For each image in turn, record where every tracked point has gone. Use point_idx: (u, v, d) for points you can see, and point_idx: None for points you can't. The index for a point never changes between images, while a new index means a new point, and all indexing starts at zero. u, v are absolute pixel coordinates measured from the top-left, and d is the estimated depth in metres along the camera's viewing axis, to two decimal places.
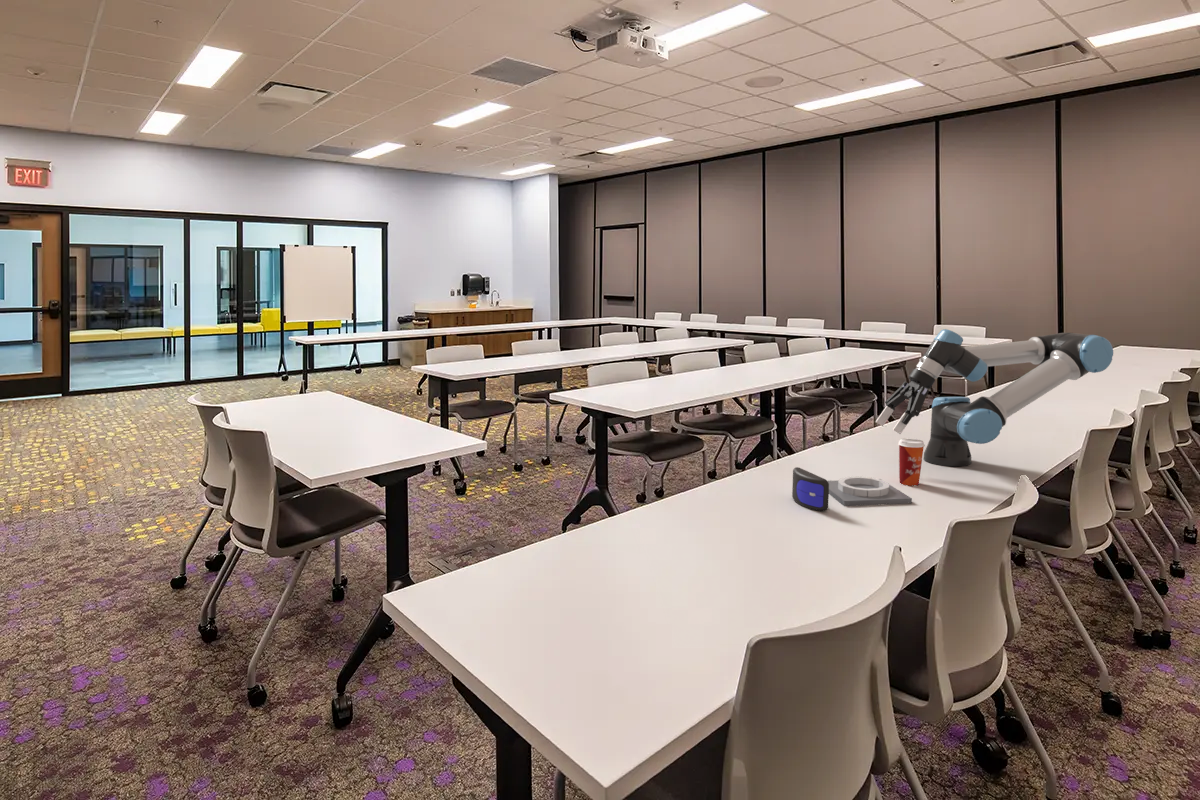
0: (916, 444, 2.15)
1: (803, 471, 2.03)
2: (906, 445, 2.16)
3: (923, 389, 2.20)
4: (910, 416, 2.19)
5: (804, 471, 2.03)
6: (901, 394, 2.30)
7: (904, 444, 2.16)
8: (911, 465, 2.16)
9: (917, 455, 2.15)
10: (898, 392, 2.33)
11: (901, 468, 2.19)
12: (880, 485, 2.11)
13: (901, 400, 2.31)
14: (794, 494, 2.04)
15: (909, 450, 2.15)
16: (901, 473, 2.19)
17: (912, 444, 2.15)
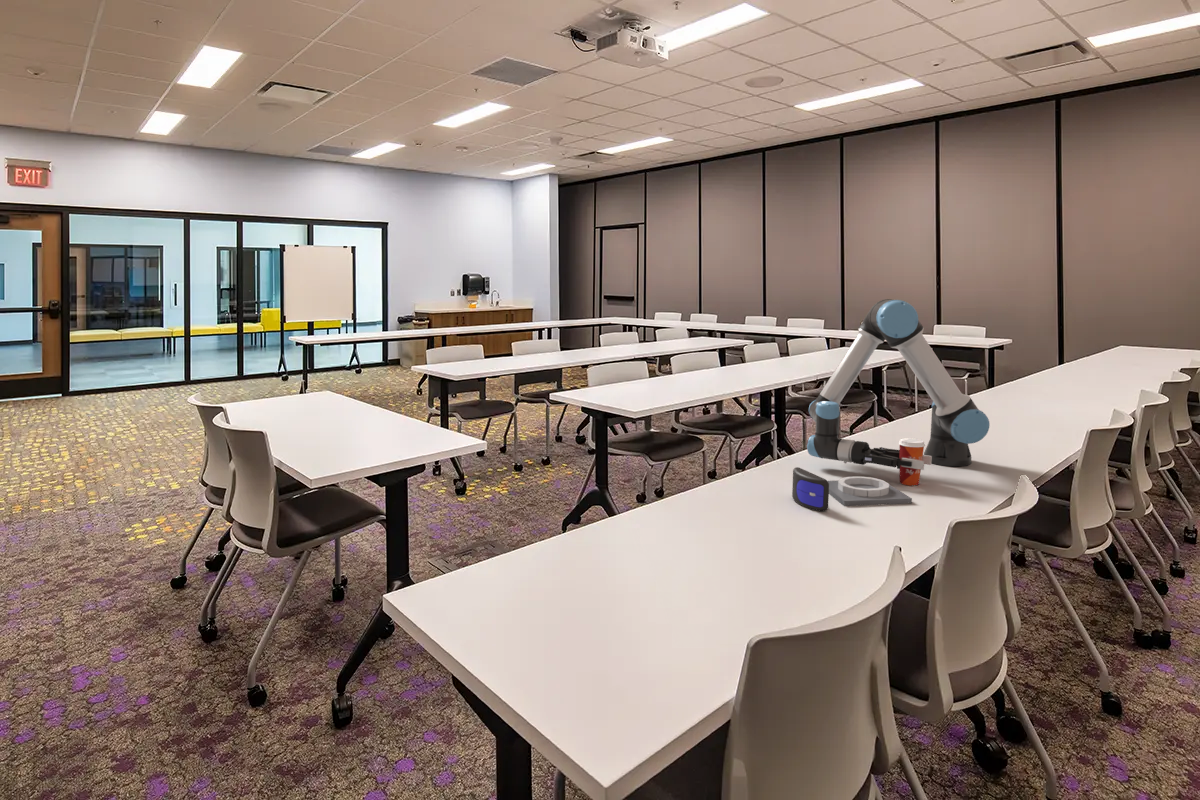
0: (916, 444, 2.15)
1: (803, 471, 2.03)
2: (906, 445, 2.16)
3: (867, 461, 2.22)
4: (900, 462, 2.16)
5: (804, 471, 2.03)
6: None
7: (904, 444, 2.16)
8: None
9: (917, 454, 2.15)
10: None
11: (901, 468, 2.19)
12: (880, 485, 2.11)
13: (892, 454, 2.25)
14: (794, 494, 2.04)
15: (909, 450, 2.16)
16: (902, 472, 2.19)
17: (912, 444, 2.15)
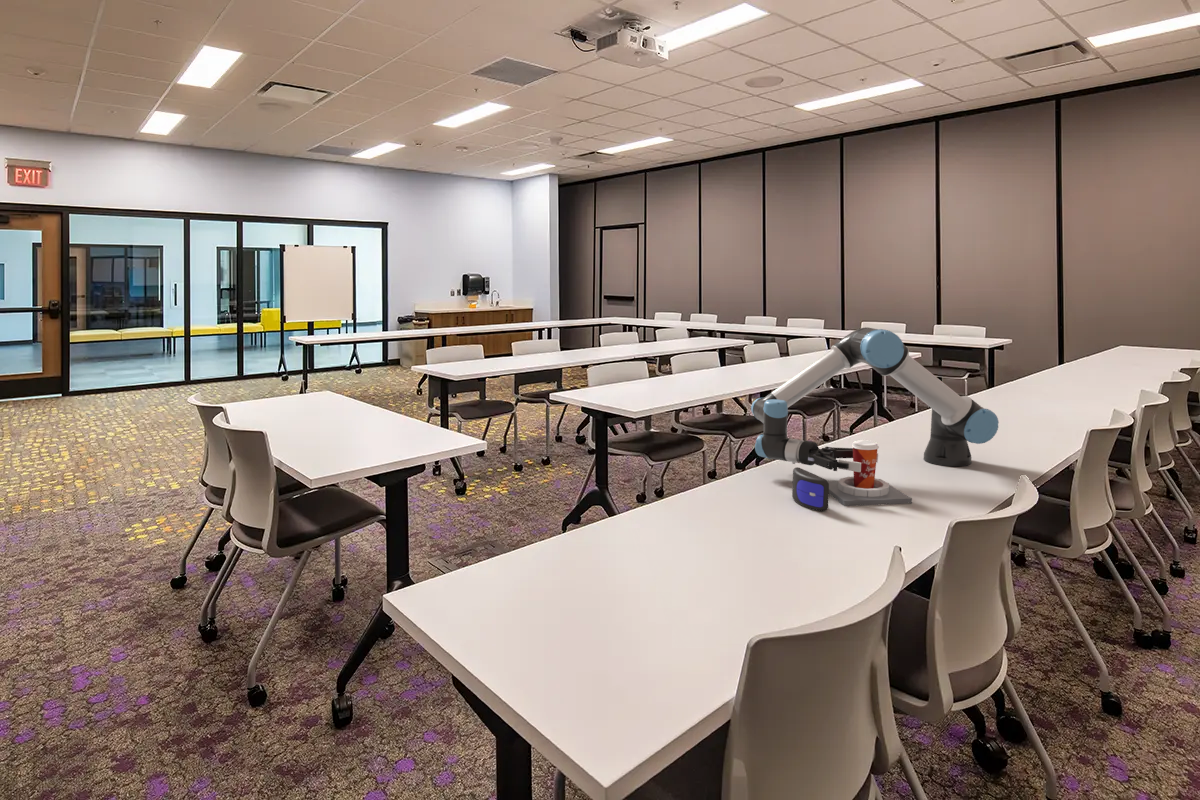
0: (869, 446, 2.07)
1: (803, 471, 2.03)
2: (859, 447, 2.08)
3: (809, 461, 2.13)
4: (837, 464, 2.06)
5: (804, 471, 2.03)
6: (834, 458, 2.18)
7: (857, 446, 2.08)
8: (865, 468, 2.08)
9: (871, 457, 2.07)
10: None
11: None
12: (880, 485, 2.11)
13: (841, 452, 2.17)
14: (794, 494, 2.04)
15: (862, 453, 2.08)
16: (856, 476, 2.11)
17: (865, 446, 2.07)
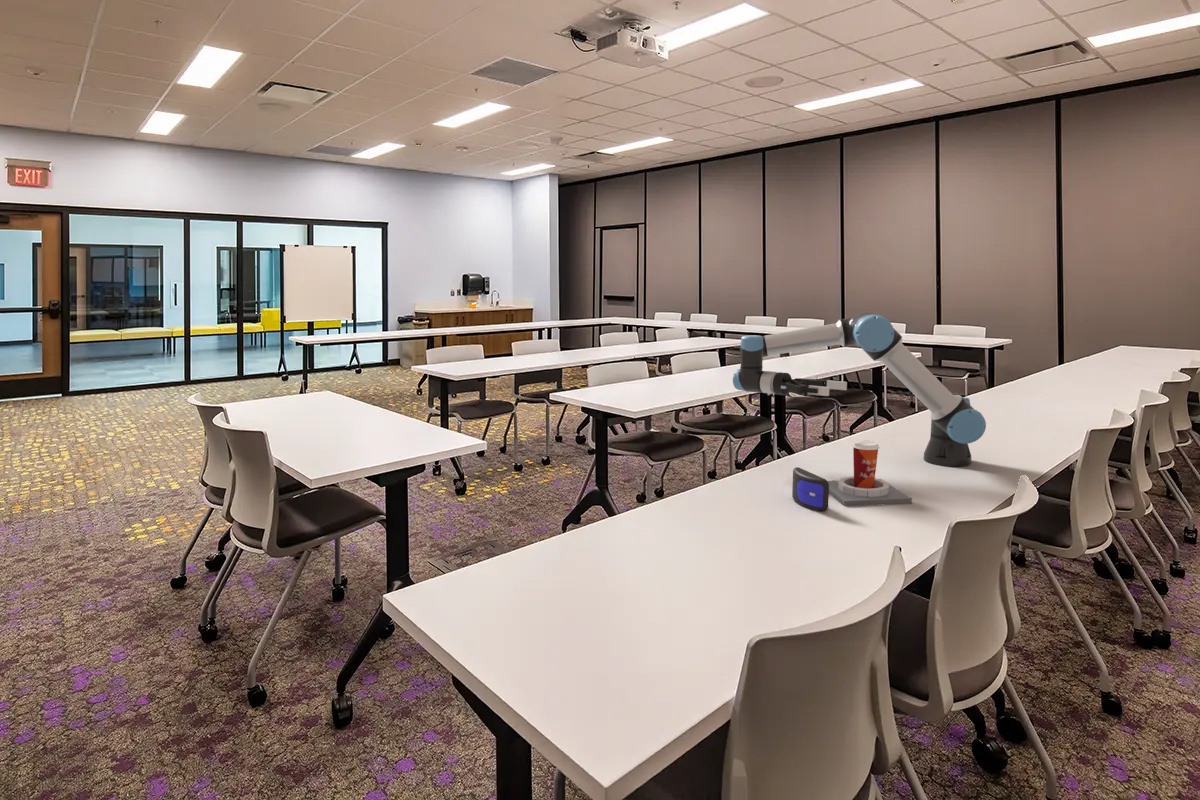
0: (870, 446, 2.07)
1: (803, 471, 2.03)
2: (860, 447, 2.08)
3: (782, 389, 2.26)
4: (807, 389, 2.19)
5: (804, 471, 2.03)
6: None
7: (858, 446, 2.08)
8: (865, 468, 2.08)
9: (871, 457, 2.07)
10: None
11: (855, 471, 2.11)
12: (880, 485, 2.11)
13: (812, 382, 2.30)
14: (794, 494, 2.04)
15: (863, 453, 2.08)
16: (856, 476, 2.11)
17: (866, 446, 2.07)
